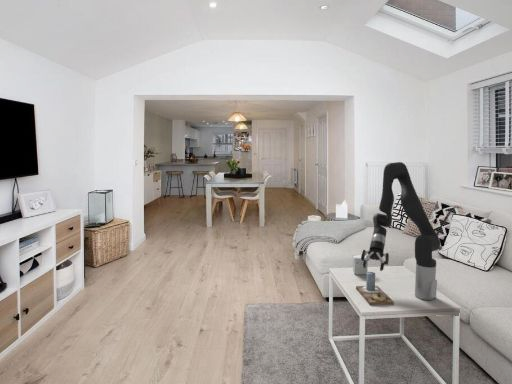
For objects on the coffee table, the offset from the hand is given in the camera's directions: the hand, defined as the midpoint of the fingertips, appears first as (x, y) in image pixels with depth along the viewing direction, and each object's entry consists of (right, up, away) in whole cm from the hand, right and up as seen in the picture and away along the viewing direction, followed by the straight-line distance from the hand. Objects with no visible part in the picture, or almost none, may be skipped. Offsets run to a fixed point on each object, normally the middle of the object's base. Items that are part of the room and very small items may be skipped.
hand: (372, 268), depth 179 cm
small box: (+2, -9, +29) cm, 30 cm away
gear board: (-1, -13, -6) cm, 14 cm away
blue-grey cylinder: (-2, -11, -1) cm, 11 cm away
